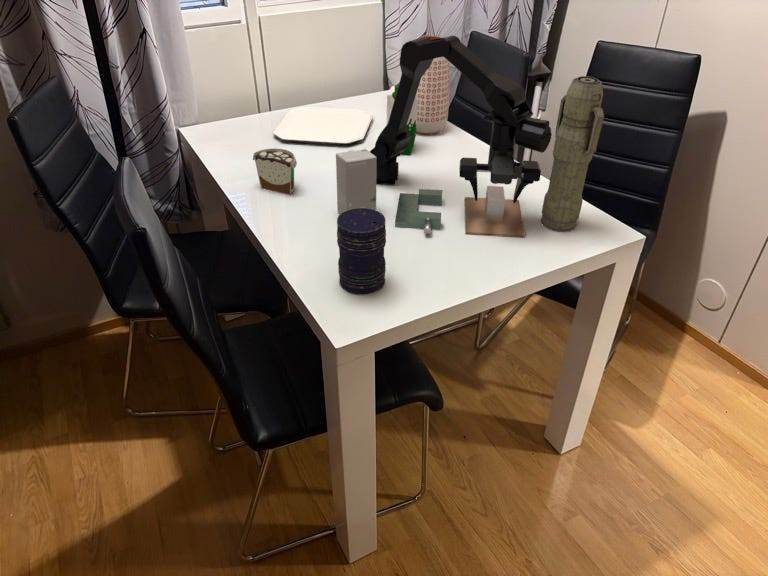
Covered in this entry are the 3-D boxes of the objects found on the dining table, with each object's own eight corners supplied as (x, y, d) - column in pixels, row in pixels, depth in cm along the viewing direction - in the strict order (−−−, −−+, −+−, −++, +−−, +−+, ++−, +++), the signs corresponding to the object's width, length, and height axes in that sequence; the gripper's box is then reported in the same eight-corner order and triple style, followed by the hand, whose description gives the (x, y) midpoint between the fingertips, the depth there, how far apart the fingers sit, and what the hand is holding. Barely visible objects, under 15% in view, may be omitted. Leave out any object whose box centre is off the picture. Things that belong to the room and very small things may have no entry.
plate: (292, 111, 212) (292, 105, 211) (375, 116, 209) (375, 110, 208) (269, 144, 189) (268, 137, 188) (361, 150, 186) (361, 143, 185)
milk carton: (384, 154, 183) (384, 87, 171) (389, 142, 190) (390, 77, 178) (413, 156, 182) (416, 89, 170) (417, 145, 189) (420, 79, 177)
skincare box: (347, 223, 149) (345, 163, 140) (335, 211, 154) (333, 152, 145) (378, 216, 152) (378, 157, 143) (365, 204, 157) (365, 146, 148)
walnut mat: (465, 234, 146) (465, 232, 145) (464, 199, 160) (464, 197, 160) (524, 237, 145) (525, 235, 144) (518, 202, 159) (518, 199, 159)
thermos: (564, 238, 144) (596, 91, 124) (528, 218, 152) (552, 76, 132) (589, 228, 149) (624, 83, 128) (553, 208, 156) (580, 69, 136)
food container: (307, 187, 165) (305, 152, 159) (295, 197, 160) (292, 161, 154) (269, 178, 169) (265, 144, 163) (256, 187, 164) (252, 152, 159)
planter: (406, 121, 204) (408, 33, 188) (445, 122, 204) (452, 34, 188) (405, 137, 194) (408, 44, 177) (447, 138, 193) (454, 45, 177)
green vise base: (393, 235, 145) (393, 224, 143) (399, 198, 160) (399, 187, 158) (439, 238, 144) (440, 227, 142) (441, 200, 159) (442, 190, 158)
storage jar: (331, 289, 127) (327, 226, 118) (349, 264, 135) (348, 204, 126) (375, 299, 124) (375, 236, 116) (392, 274, 132) (393, 213, 123)
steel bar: (485, 222, 149) (488, 200, 145) (484, 207, 155) (487, 185, 152) (502, 223, 149) (505, 201, 145) (500, 208, 155) (503, 186, 152)
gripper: (462, 153, 135) (456, 215, 144) (548, 157, 133) (537, 219, 143) (462, 133, 144) (456, 193, 153) (542, 137, 142) (532, 197, 152)
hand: (495, 201), depth 150 cm, fingers open, 9 cm apart
